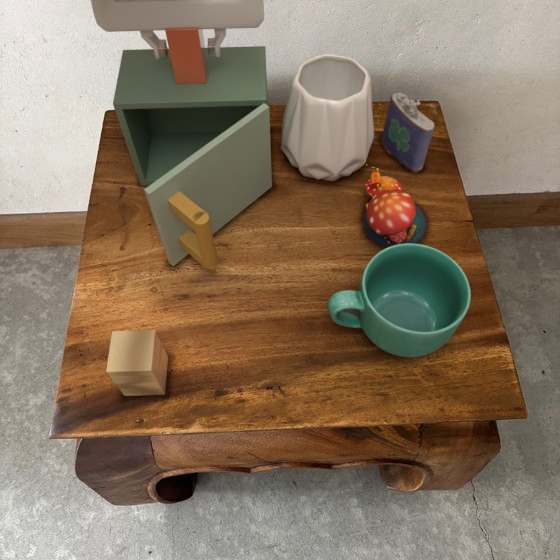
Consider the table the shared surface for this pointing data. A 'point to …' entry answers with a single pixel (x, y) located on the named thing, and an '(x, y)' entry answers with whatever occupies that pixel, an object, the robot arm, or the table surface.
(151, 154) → the cupboard
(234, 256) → the table surface
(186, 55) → the block
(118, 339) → the stand
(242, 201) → the door
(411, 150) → the flask
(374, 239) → the figurine
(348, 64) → the vase
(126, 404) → the table surface
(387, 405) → the table surface
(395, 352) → the mug
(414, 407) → the table surface
